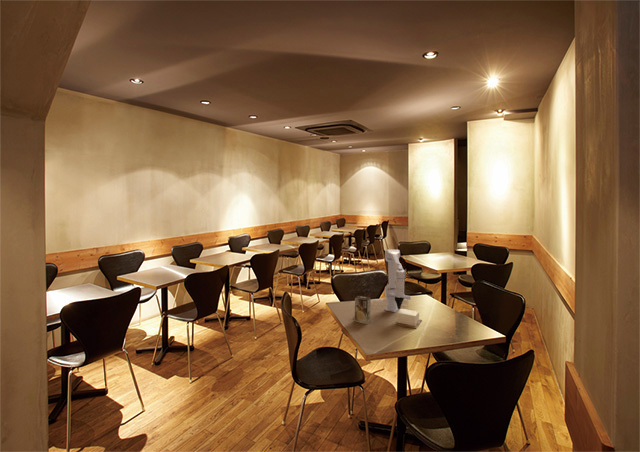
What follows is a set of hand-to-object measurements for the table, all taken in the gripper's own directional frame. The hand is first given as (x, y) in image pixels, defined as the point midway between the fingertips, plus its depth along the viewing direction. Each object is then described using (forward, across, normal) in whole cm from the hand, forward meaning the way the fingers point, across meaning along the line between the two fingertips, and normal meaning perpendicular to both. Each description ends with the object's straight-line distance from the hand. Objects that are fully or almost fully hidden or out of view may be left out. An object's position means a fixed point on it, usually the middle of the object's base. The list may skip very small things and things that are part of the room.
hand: (399, 308), depth 221 cm
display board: (+8, +8, 0) cm, 11 cm away
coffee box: (+9, -20, -14) cm, 26 cm away
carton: (+4, 0, 0) cm, 5 cm away
